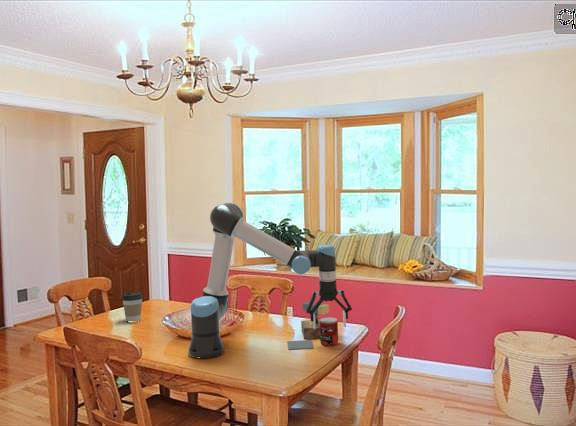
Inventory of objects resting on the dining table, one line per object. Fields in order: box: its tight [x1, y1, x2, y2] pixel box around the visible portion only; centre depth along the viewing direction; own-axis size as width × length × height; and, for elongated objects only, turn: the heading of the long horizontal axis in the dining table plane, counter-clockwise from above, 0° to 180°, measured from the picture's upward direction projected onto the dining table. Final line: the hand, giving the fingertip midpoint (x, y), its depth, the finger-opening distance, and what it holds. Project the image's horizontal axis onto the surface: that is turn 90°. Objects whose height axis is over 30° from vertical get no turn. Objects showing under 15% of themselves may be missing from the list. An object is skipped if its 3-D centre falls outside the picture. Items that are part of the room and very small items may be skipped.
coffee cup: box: [121, 291, 144, 322], centre depth 272 cm, size 11×11×15 cm
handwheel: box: [302, 300, 330, 323], centre depth 239 cm, size 12×5×9 cm, turn 46°
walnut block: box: [300, 319, 320, 340], centre depth 239 cm, size 13×13×5 cm
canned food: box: [319, 317, 339, 347], centre depth 224 cm, size 8×8×11 cm
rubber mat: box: [286, 339, 315, 351], centre depth 224 cm, size 11×11×1 cm
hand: (329, 327), depth 224 cm, fingers open, 13 cm apart
